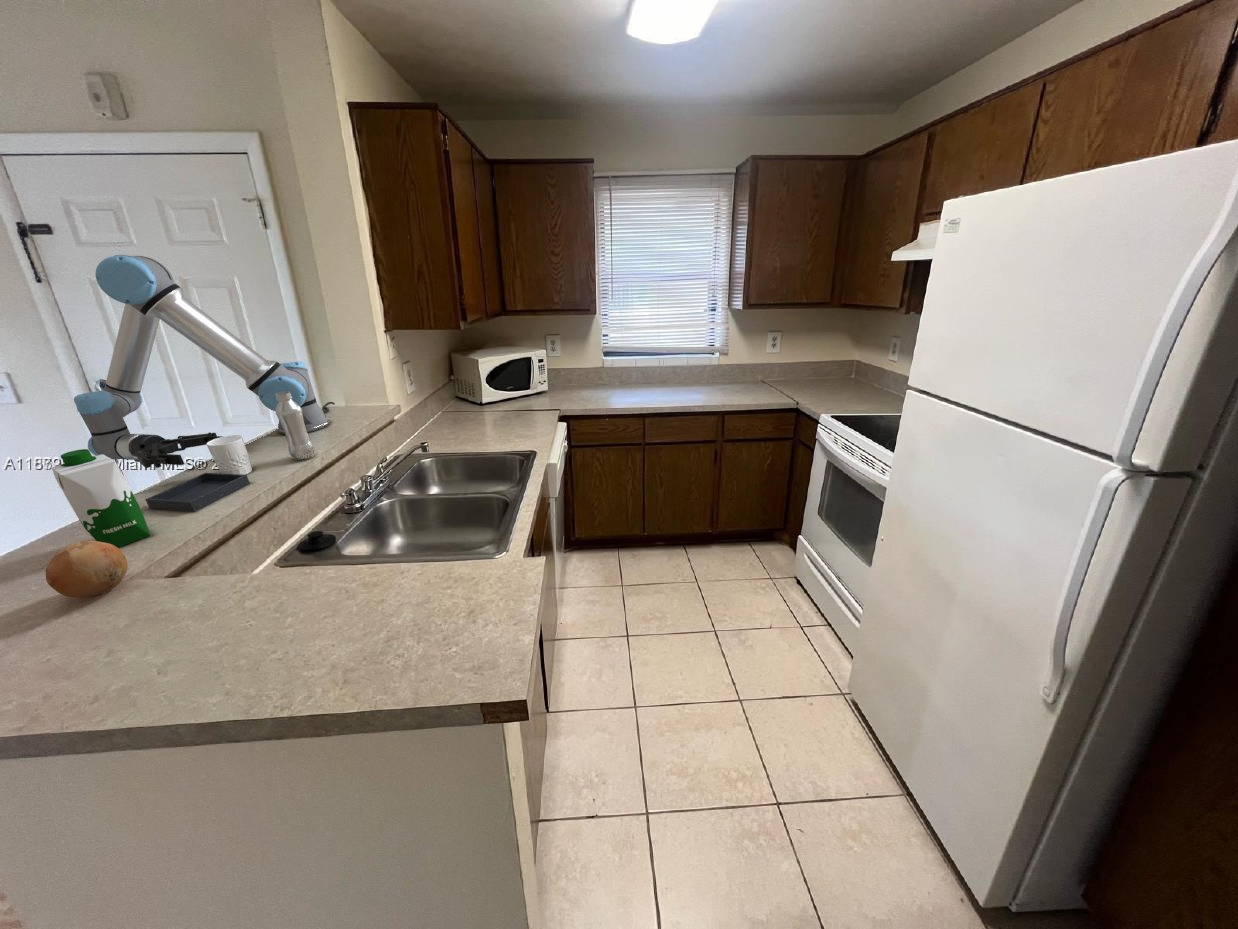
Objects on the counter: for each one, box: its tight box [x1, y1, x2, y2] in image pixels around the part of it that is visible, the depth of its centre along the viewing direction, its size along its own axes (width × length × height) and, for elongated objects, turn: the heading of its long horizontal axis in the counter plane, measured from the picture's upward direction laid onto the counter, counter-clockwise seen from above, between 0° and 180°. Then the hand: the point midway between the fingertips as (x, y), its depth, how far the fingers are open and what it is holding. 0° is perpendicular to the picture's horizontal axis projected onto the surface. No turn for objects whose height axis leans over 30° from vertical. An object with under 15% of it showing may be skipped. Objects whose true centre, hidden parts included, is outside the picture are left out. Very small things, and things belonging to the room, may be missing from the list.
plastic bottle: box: [275, 391, 316, 461], centre depth 137 cm, size 6×7×20 cm
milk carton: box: [51, 448, 152, 549], centre depth 98 cm, size 9×9×20 cm
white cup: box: [205, 434, 253, 475], centre depth 131 cm, size 8×8×10 cm
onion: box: [45, 540, 129, 599], centre depth 84 cm, size 10×10×10 cm
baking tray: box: [144, 472, 251, 513], centre depth 120 cm, size 15×13×3 cm
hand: (205, 450), depth 131 cm, fingers open, 13 cm apart
